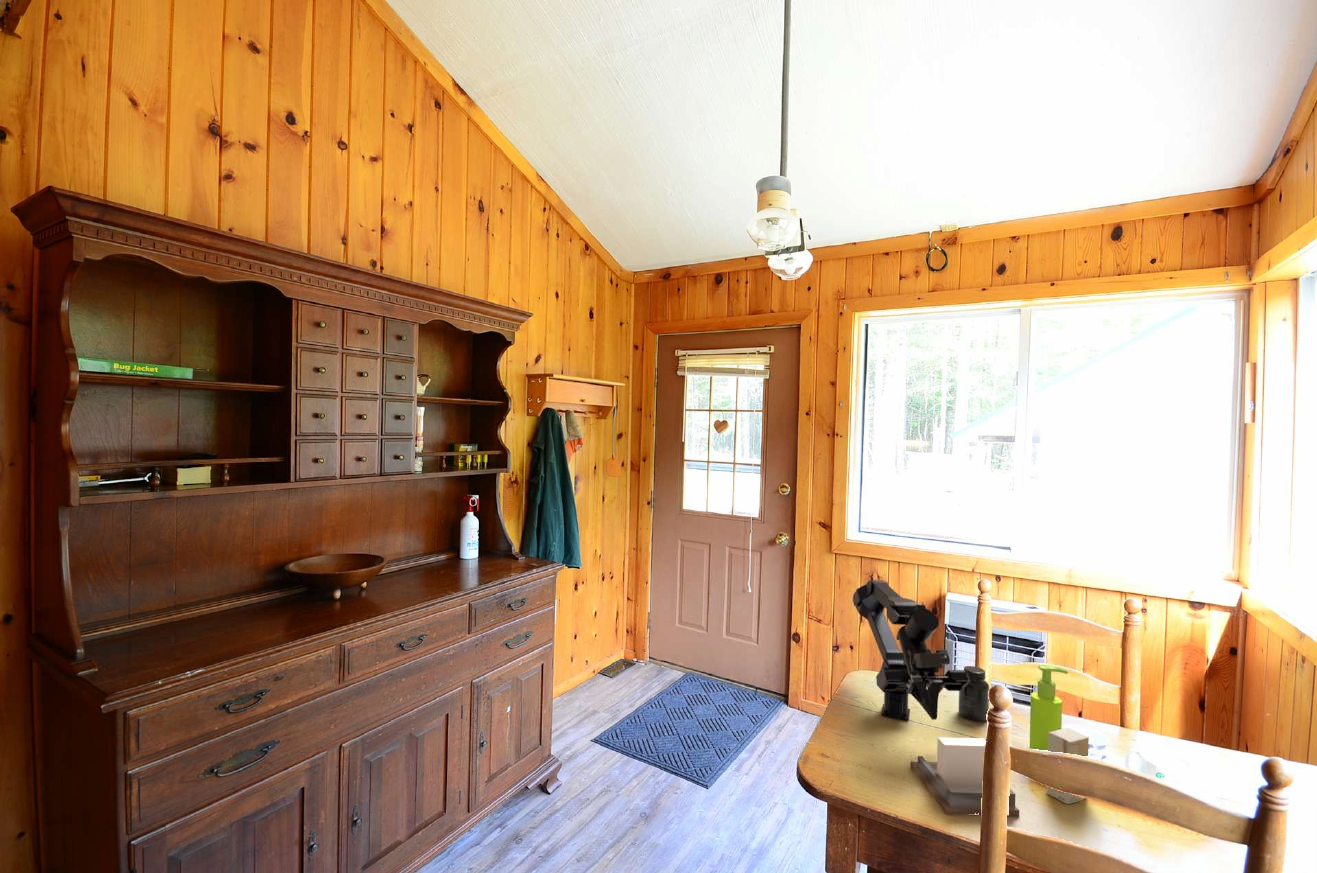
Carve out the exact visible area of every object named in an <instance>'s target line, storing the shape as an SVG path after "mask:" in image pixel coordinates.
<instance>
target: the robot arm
mask: <svg viewBox="0 0 1317 873" xmlns="http://www.w3.org/2000/svg"><path fill="white" fill-rule="evenodd" d="M852 603H853V606H854V607H855V609H856V611H857V613H858V614H859V615H860V616H861V617H862V618H864V619H866V620H867V622H868V625H869V628H870V630H871V632H872V635H873V637H874V640H875V643H876V646H877V648H878V650H879V652H880V656H881V658H882V664H881V668H880V670H879V672H878V673H877V674H876V676H875V678H876V686H877V687H878V688H879V689H880V690H881V692H882V693H883V695H884V696H883V703H882V708H881V716H882V717H889V718H894V719H898V720H902V719H903V721H910V715H911V714H910V713H911V709H910V708H909V695H911V696H912V697H913V698H914V699H915V700H916V701H917V702H918V703H919V705H920V706H921V707H922V708H923V710H924V711H925V712H926V714H927V715H928V716H929V717H930V719H931V720H933V721H936V720H937V719H938V711H939V710H938V707H939V706H938V704H939V696H940V693H941V692H942V691H943V689H946V691H948V692H951V691H952V692H959V691H961V690H963V689H964V688H965V687H966V686H967V685H968V684H969V682H970V679H969V676H968V674H967V673H966V672H965V671H964V669H947V671H946V672H945V674H942V675H938V673H939V671H940V669H944V665H946V666H947V665H950V664H951V659H950V655H949V652H948V651H947V650H948V649H945V648H944V649H942V648H941V649H936V650H935V652H932V651H931V649H928V646H927V642H926V641H929V639H931V636H932V635H933V634H934V632H935V631H936V630H937V629H938V627H939V622H940V621H939V618H938V617H937V615H936V614H935V613H934V612H933V611H931V610H930V609H928V608H926V605H925V604H919V603H918V602H917V601H914V600H913V599H908V598H905V597H902V596H901V595H900V594H898V593H897V592H896V591H895V590H894V589H893V588H892V587H891V586H890V585H889V584H888V582H887V581H886V580H879V579H877V580H875V579H873V580H872V579H871V580H867V582H866V584H863V585H862V586H860V587H858V588H856V590H855V591H854V593H853V595H852ZM885 609H886V615H885V613H884V611H885ZM887 619H888V620H889V621H887ZM888 622H890V623H891V624H892V625H893V626H894V625H895V626H896V625H898V626H899V625H901V627H900V628H899V629H898V631H897V633H896V639H895V636H894V634H893V632H892V630H891V627H890V624H889V623H888ZM896 640H897V641H899V645H900V648H901V650H900V648H899V646H898V644H897V641H896ZM901 651H902V652H901ZM936 673H937V674H936Z"/></svg>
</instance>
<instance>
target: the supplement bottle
mask: <svg viewBox="0 0 1317 873" xmlns="http://www.w3.org/2000/svg"><path fill="white" fill-rule="evenodd" d="M963 670H964V671H965V672H966V673H967V674H968V676H969V679H970V682H969V684H968V685H967V686H966V687H965V688H964V689H963V690H961V691H958V714H959V715H960V716H961V717H962V718H963V719H966V720H967V719H968V721H970V722H974V723H985V722H987V721H988V720H986V714H987V711H988V709H989V710H990V698H989V699H988V691H989V692H990V684H989V683H988V682H987V681H986V670H984V669H983V668H982V667H981V668H980V667H977V666H973V665H966V666H964V667H963Z"/></svg>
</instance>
